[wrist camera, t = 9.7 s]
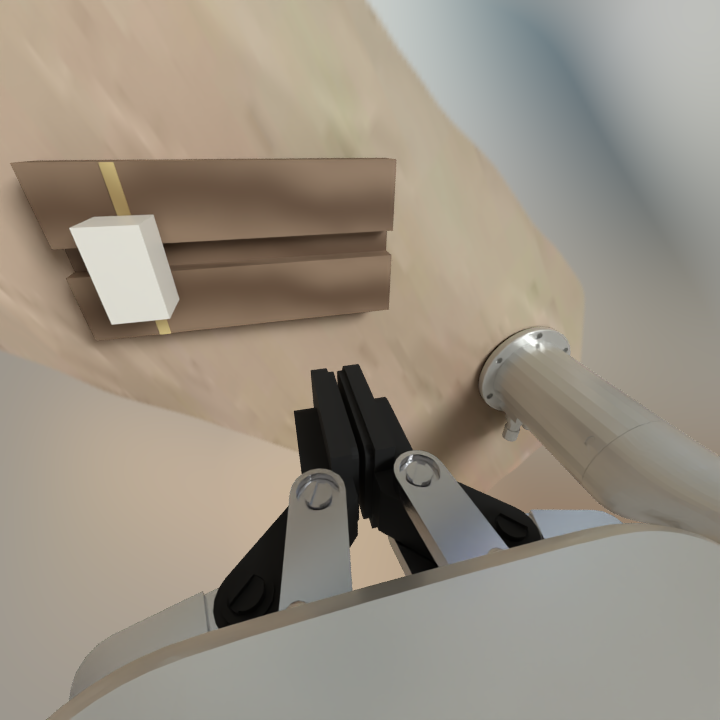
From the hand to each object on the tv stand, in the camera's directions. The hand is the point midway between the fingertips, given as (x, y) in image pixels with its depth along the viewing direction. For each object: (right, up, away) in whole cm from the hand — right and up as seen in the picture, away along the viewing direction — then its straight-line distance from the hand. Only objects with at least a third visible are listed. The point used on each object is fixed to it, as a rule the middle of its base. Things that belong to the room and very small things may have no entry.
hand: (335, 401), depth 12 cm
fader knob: (-15, +9, +13) cm, 22 cm away
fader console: (-9, +11, +16) cm, 21 cm away
